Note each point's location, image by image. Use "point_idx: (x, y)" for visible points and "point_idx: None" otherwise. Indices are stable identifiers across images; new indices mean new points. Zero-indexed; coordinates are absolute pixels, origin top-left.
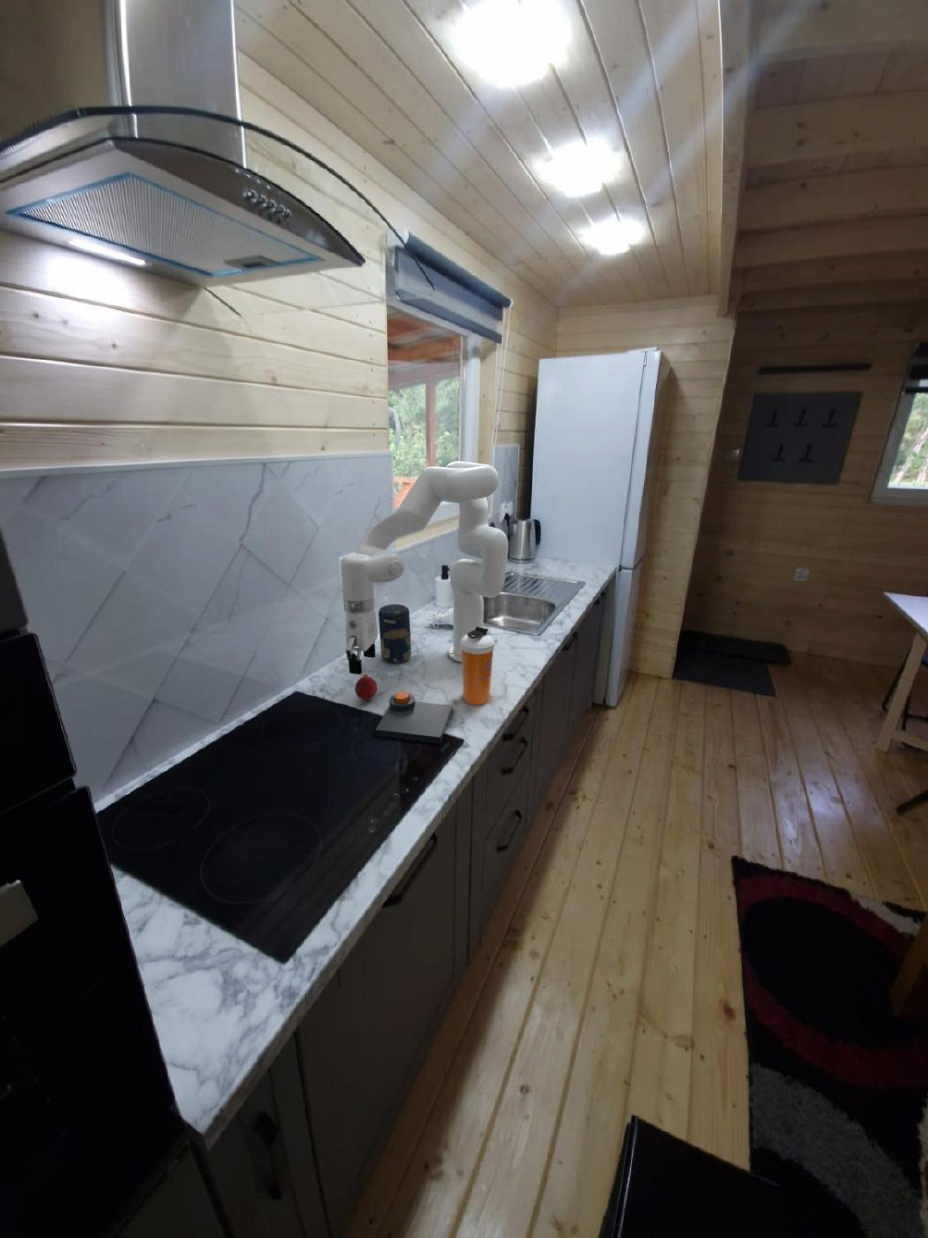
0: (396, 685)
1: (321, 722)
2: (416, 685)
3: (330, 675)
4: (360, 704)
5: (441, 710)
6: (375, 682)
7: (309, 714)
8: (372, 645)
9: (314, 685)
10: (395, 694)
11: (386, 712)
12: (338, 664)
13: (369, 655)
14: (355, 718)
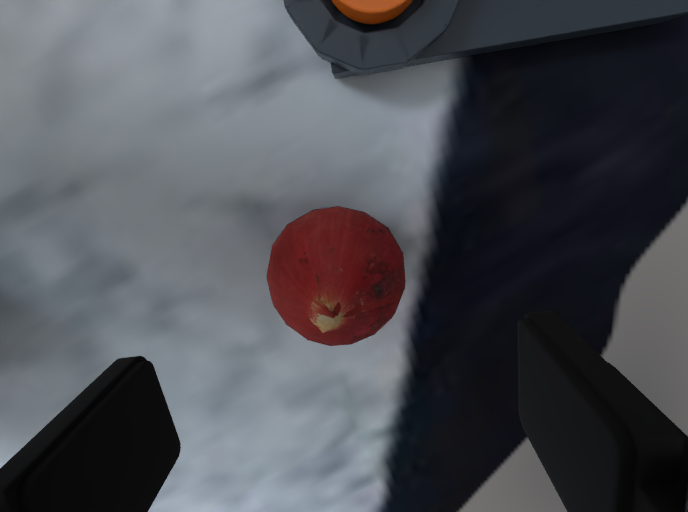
0: (138, 171)
1: None
2: (75, 50)
3: (212, 491)
4: None
5: None
6: (292, 236)
7: None
8: (37, 498)
9: (311, 504)
10: (379, 10)
11: (494, 39)
12: None
13: (153, 415)
14: (512, 219)
